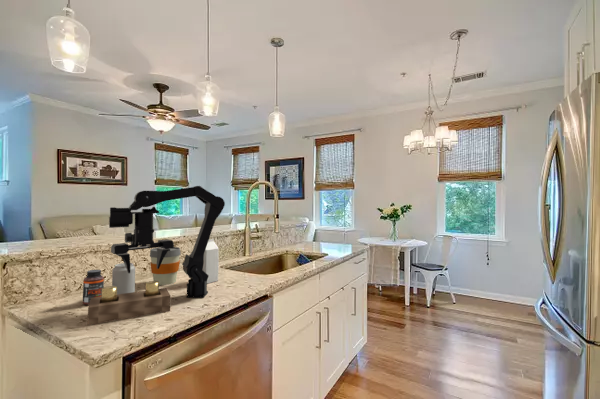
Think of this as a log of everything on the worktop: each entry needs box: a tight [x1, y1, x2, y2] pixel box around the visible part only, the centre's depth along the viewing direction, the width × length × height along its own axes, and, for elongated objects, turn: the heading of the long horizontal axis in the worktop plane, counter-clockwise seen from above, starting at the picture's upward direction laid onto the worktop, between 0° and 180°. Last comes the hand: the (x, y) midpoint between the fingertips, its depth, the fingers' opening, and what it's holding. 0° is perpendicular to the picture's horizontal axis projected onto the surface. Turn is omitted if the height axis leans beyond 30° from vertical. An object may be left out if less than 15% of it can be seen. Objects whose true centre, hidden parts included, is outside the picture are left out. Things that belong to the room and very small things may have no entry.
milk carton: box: [203, 238, 220, 285], centre depth 130 cm, size 7×7×19 cm
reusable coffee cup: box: [149, 246, 182, 286], centre depth 128 cm, size 13×13×15 cm
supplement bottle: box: [82, 269, 105, 306], centre depth 101 cm, size 6×6×11 cm
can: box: [111, 262, 136, 294], centre depth 109 cm, size 8×8×12 cm
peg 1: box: [102, 285, 117, 303], centre depth 90 cm, size 4×4×5 cm
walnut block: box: [87, 287, 171, 326], centre depth 93 cm, size 22×10×5 cm, turn 122°
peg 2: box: [144, 280, 160, 297], centre depth 96 cm, size 4×4×5 cm
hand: (143, 270), depth 100 cm, fingers open, 9 cm apart
